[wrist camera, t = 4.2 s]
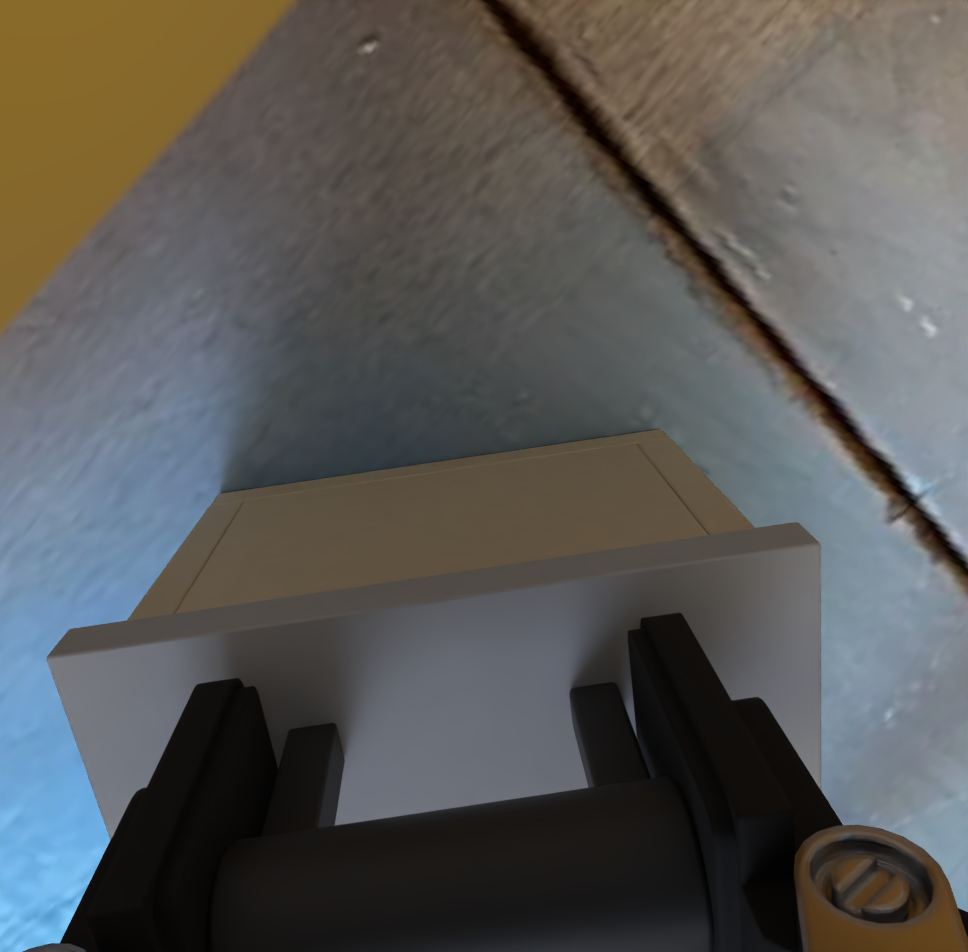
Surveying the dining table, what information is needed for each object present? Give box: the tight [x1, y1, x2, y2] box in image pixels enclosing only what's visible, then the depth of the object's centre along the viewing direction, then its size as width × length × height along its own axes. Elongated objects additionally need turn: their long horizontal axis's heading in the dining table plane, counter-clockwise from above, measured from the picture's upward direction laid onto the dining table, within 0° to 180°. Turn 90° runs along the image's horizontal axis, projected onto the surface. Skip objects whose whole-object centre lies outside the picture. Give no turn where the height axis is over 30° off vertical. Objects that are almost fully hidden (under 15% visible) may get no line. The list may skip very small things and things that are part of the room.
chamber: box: [127, 429, 755, 621], centre depth 18 cm, size 13×11×8 cm
